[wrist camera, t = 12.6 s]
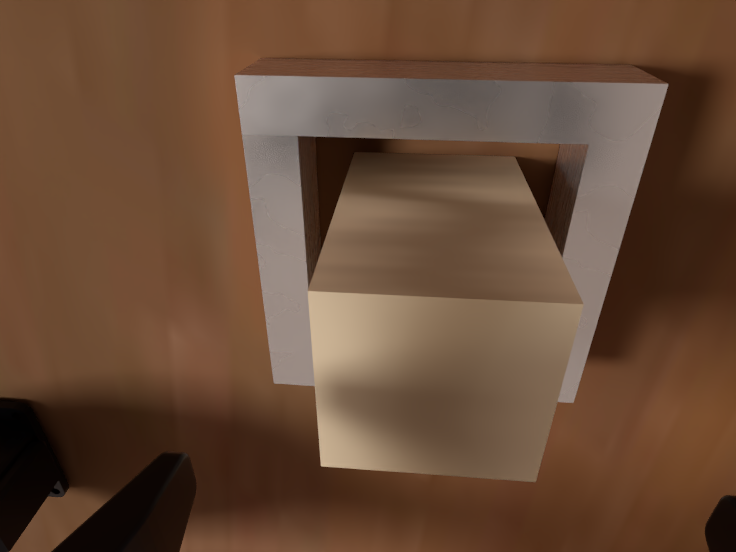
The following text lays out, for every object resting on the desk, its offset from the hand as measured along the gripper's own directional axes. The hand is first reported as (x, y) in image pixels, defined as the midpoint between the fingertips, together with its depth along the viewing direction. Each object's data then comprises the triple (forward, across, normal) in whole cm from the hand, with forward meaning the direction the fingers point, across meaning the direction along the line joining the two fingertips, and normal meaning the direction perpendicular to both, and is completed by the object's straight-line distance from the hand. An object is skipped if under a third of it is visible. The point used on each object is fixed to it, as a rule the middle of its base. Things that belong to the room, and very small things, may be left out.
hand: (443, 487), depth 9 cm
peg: (+10, 0, 0) cm, 10 cm away
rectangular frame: (+10, 0, 0) cm, 10 cm away
